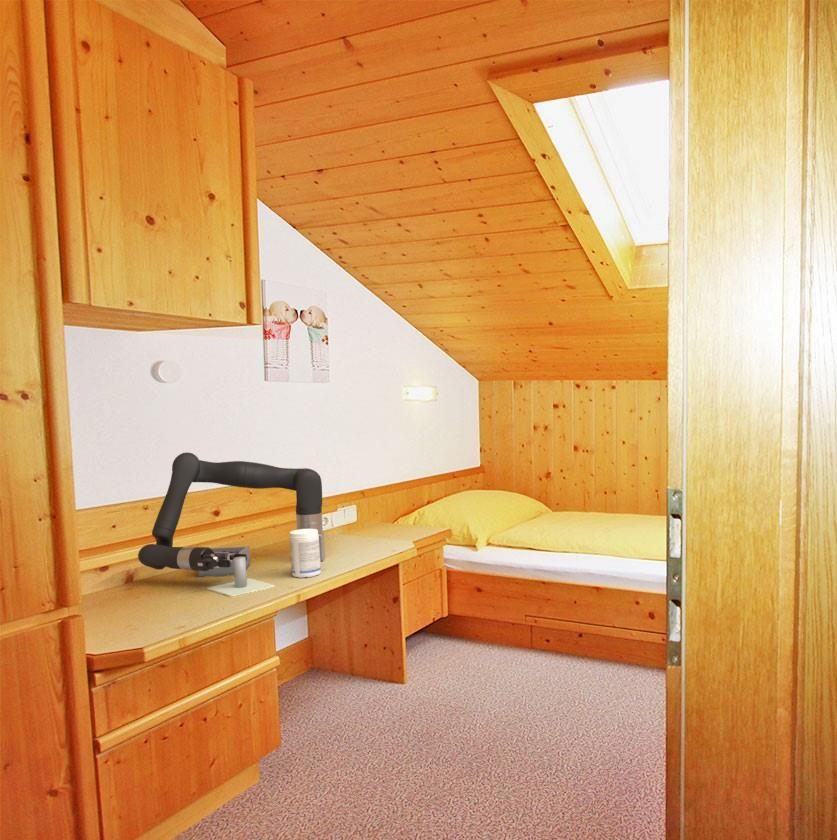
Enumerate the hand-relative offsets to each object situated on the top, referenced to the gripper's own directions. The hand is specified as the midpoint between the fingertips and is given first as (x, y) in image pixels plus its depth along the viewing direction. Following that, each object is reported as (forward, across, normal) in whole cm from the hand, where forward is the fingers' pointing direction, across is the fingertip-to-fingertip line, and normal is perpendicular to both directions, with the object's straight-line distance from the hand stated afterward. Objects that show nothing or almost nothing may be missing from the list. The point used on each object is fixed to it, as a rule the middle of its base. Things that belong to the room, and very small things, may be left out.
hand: (238, 560), depth 225 cm
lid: (0, 0, +9) cm, 9 cm away
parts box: (-19, +19, +9) cm, 28 cm away
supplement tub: (+13, +19, +9) cm, 25 cm away
